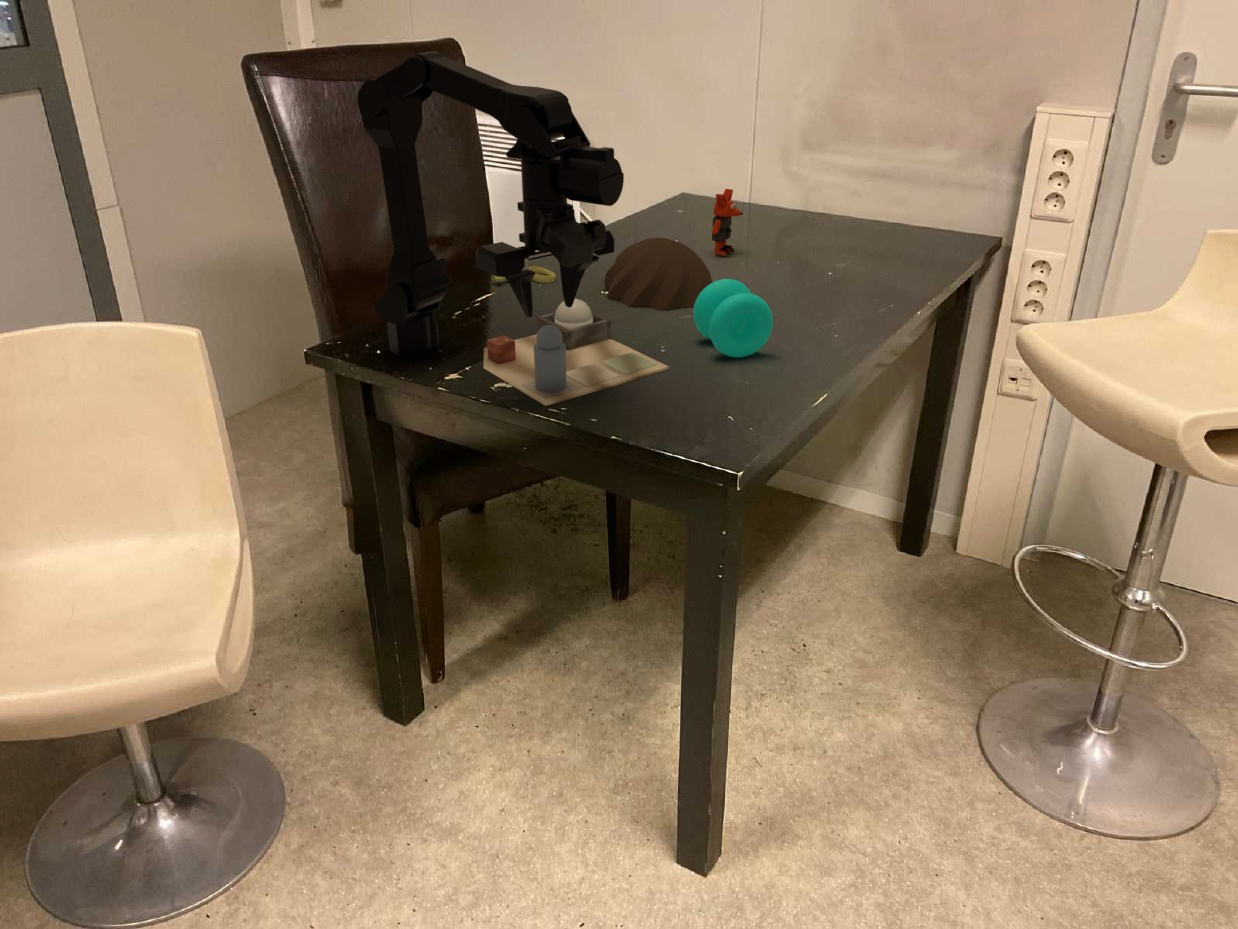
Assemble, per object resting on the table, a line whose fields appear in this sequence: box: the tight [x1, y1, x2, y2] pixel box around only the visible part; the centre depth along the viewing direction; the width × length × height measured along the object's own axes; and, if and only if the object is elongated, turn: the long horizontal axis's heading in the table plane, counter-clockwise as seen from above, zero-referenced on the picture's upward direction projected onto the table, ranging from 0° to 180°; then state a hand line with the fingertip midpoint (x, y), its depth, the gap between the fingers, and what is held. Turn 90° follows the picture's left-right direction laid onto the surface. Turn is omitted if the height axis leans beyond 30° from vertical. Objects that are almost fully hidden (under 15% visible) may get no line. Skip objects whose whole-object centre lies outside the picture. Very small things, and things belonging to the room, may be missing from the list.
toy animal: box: [711, 188, 744, 256], centre depth 198 cm, size 8×6×12 cm
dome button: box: [555, 298, 593, 329], centre depth 157 cm, size 6×6×6 cm
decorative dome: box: [604, 237, 713, 312], centre depth 178 cm, size 19×20×10 cm
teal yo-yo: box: [692, 278, 774, 358], centre depth 153 cm, size 10×10×10 cm
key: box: [491, 266, 557, 284], centre depth 183 cm, size 7×12×2 cm, turn 138°
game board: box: [483, 310, 670, 407], centre depth 150 cm, size 22×23×4 cm
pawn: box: [534, 325, 567, 393], centre depth 139 cm, size 4×4×9 cm
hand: (549, 311), depth 136 cm, fingers open, 6 cm apart
